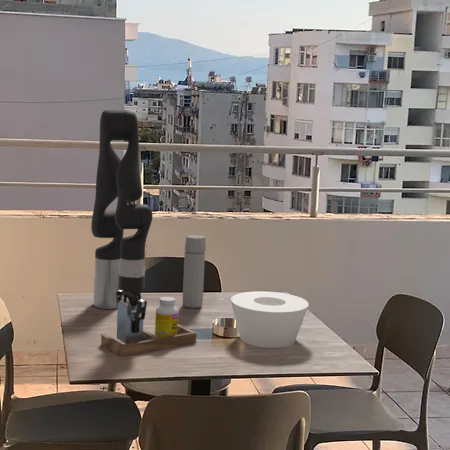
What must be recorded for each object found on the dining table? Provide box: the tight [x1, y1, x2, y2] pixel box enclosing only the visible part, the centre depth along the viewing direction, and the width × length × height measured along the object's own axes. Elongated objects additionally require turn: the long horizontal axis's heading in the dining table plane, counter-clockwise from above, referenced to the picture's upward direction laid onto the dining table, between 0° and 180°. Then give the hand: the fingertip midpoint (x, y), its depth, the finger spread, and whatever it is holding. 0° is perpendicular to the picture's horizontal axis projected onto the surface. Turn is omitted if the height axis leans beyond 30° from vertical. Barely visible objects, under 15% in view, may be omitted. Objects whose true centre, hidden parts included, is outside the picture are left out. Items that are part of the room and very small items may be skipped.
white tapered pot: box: [230, 291, 310, 349], centre depth 224 cm, size 24×24×12 cm
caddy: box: [100, 323, 197, 357], centre depth 215 cm, size 12×26×3 cm, turn 127°
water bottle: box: [182, 234, 207, 309], centre depth 257 cm, size 9×8×25 cm
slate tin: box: [116, 300, 144, 344], centre depth 211 cm, size 6×6×12 cm
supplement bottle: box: [154, 296, 179, 338], centre depth 218 cm, size 7×7×13 cm
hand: (130, 329), depth 211 cm, fingers closed on slate tin, 5 cm apart
